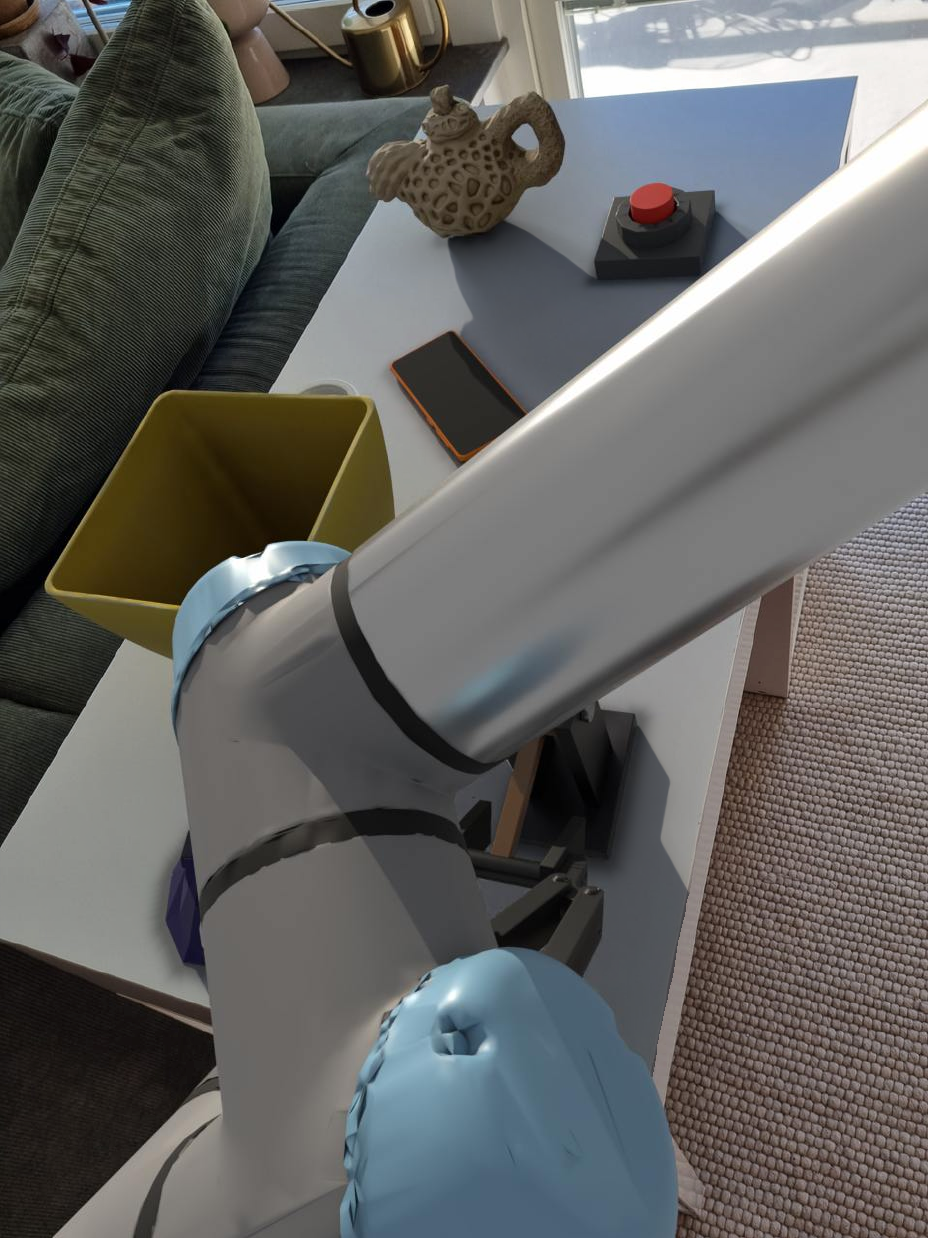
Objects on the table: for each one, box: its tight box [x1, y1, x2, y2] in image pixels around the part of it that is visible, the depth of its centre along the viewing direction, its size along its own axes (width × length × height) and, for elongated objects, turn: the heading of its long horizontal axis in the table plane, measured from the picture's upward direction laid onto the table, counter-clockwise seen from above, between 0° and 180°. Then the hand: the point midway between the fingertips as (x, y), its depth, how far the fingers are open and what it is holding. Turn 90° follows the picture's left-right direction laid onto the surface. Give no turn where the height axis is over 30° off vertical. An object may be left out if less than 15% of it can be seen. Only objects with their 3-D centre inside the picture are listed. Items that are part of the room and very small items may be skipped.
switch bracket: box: [507, 700, 638, 860], centre depth 59 cm, size 10×7×13 cm
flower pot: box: [44, 389, 396, 661], centre depth 71 cm, size 19×19×17 cm
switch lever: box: [467, 728, 556, 890], centre depth 53 cm, size 12×5×2 cm, turn 164°
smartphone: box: [389, 329, 529, 462], centre depth 88 cm, size 8×17×1 cm, turn 27°
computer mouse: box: [164, 829, 206, 967], centre depth 66 cm, size 9×15×4 cm, turn 173°
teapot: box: [365, 84, 566, 239], centre depth 96 cm, size 21×12×15 cm, turn 82°
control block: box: [593, 186, 717, 281], centre depth 91 cm, size 10×10×4 cm
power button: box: [630, 182, 675, 224], centre depth 89 cm, size 4×4×2 cm
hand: (530, 829), depth 55 cm, fingers closed on switch lever, 5 cm apart
